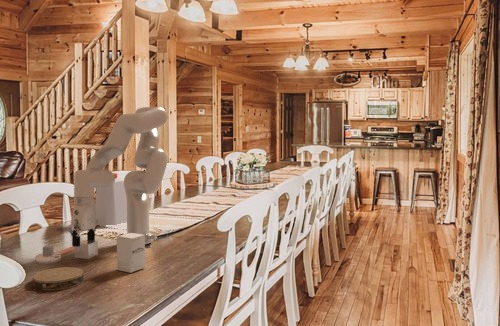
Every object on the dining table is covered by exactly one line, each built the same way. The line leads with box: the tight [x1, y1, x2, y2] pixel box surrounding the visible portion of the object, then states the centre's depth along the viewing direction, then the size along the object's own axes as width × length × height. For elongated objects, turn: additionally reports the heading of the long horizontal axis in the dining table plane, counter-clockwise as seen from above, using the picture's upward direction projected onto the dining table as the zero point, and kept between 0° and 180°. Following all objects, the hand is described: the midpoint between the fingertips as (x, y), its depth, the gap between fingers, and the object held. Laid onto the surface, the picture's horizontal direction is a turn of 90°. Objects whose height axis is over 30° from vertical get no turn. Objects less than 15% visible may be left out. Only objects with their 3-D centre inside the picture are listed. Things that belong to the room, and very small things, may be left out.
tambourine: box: [32, 266, 84, 291], centre depth 165 cm, size 16×16×3 cm
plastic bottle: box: [95, 172, 127, 227], centre depth 256 cm, size 15×15×28 cm
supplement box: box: [116, 233, 146, 274], centre depth 179 cm, size 7×7×13 cm
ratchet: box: [35, 244, 74, 265], centre depth 198 cm, size 9×26×6 cm, turn 164°
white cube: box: [73, 239, 99, 260], centre depth 196 cm, size 6×6×6 cm
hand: (83, 243), depth 196 cm, fingers open, 9 cm apart
